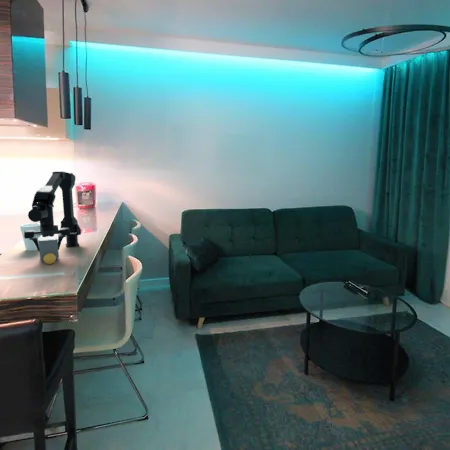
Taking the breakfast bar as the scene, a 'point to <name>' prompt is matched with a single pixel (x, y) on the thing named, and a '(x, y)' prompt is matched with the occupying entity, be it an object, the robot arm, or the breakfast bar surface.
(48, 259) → the ball
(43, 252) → the matte grey cube
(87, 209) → the breakfast bar surface
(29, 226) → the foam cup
